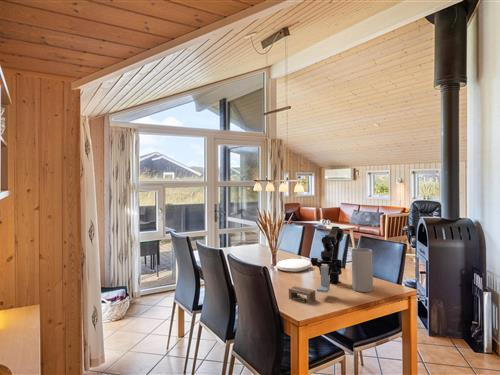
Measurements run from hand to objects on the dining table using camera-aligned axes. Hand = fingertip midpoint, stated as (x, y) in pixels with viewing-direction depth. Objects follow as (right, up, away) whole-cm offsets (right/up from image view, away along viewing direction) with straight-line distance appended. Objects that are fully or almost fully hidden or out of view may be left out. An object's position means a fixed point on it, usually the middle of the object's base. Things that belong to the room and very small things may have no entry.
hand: (324, 275), depth 203 cm
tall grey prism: (-1, -8, -2) cm, 8 cm away
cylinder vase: (+26, -12, +10) cm, 31 cm away
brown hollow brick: (-14, -13, -4) cm, 19 cm away
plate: (-10, -12, +67) cm, 68 cm away
